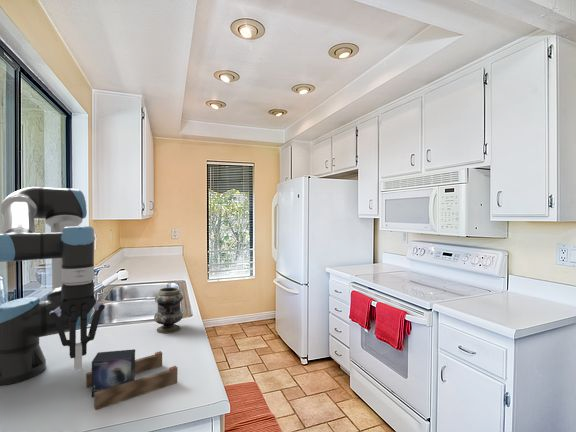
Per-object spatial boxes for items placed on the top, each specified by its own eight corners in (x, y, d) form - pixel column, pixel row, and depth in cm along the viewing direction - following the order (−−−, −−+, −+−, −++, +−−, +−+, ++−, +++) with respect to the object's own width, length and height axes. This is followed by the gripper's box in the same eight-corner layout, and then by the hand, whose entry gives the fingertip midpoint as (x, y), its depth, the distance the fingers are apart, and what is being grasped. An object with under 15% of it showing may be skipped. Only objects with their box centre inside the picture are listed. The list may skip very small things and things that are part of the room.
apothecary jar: (183, 332, 141) (184, 291, 141) (154, 336, 137) (154, 293, 136) (181, 323, 152) (182, 285, 152) (154, 326, 148) (154, 287, 147)
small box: (90, 398, 91) (90, 361, 91) (97, 386, 97) (97, 351, 97) (131, 393, 94) (131, 357, 93) (135, 382, 100) (135, 348, 100)
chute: (95, 409, 86) (95, 392, 86) (85, 385, 97) (86, 370, 97) (177, 382, 100) (177, 367, 100) (160, 364, 111) (160, 351, 111)
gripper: (49, 288, 82) (49, 381, 82) (107, 281, 90) (107, 365, 90) (47, 283, 88) (47, 370, 88) (102, 277, 96) (102, 356, 96)
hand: (78, 368), depth 89 cm, fingers closed
